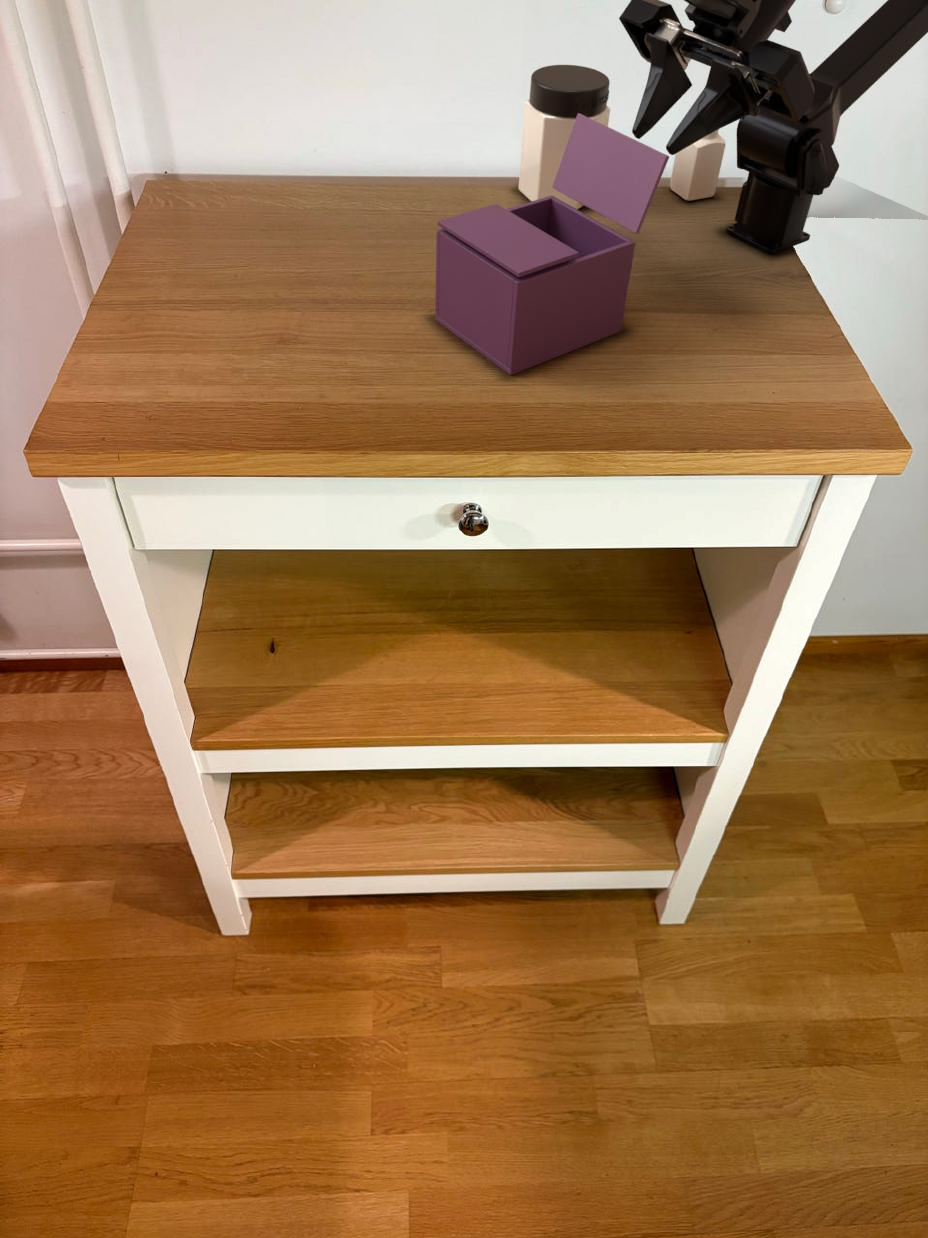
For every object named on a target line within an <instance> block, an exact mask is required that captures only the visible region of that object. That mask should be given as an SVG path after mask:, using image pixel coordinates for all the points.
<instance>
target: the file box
mask: <svg viewBox="0 0 928 1238" xmlns="http://www.w3.org/2000/svg"><path fill="white" fill-rule="evenodd" d="M437 226H438V227H440V228H439V229H437V230H436V249H435V251H436V255H435V257H436V258H435V259H436V260H435V265H436V266H435V309H434V310H435V311H434V312H435V316H434V320H435V322H437V323H439V325H441V326H443V327H444V328H445V329H446V330H448V331H449V332H451V334H453V335H454V336H456V337H457V338H459V339H460V340H461V341H463V342H464V343H466V344H467V345H468V346H469V347H471V348H472V349H474V351H476V352H478V353H479V354H480V355H482V356H483V357H485V358H486V359H487V360H488V361H490V362H492V363H493V364H494V365H496V366H497V367H498V368H500V369H501V370H502V371H503V372H505V373H506V374H507V375H509V376H513V375H515V374H517V373H520V372H523V371H525V370H527V369H530V368H533V367H536V366H538V365H540V364H542V363H546V362H548V361H550V360H553V359H555V358H558V357H560V356H563V355H566V354H567V353H571V352H574V351H575V350H578V349H580V348H583V347H585V346H589V345H590V344H593V343H595V342H598V341H601V340H603V339H605V338H608V337H610V336H613V335H616V334H618V333H621V331H622V325H623V319H624V313H625V309H626V308H625V307H626V301H627V296H628V289H629V284H630V279H631V271H632V265H633V259H634V254H635V249H636V248H635V247H636V241H634V240H632V239H631V238H629V237H627V236H626V235H624V234H623V233H620V232H618V231H617V230H615V229H613V228H612V227H610V226H607V225H606V224H604V223H603V222H600V221H598V220H597V219H595V218H593V217H591V216H590V215H588V214H586V213H584V212H582V211H581V210H579V209H578V210H577V209H575V208H574V207H572V206H570V205H568V204H566V203H565V202H563V201H561V200H559V199H557V198H556V197H554V196H552V195H551V196H548V197H545V198H541V199H538V200H535V201H532V202H531V201H528V202H526V203H522V204H519V205H515V206H512V207H508V208H505V207H503V206H501V205H500V204H498V203H493V204H490V205H487V206H484V207H480V208H477V209H474V210H470V211H466V212H464V213H459V214H456V215H454V216H450V217H446V218H443V219H439V220H437Z"/></svg>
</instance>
